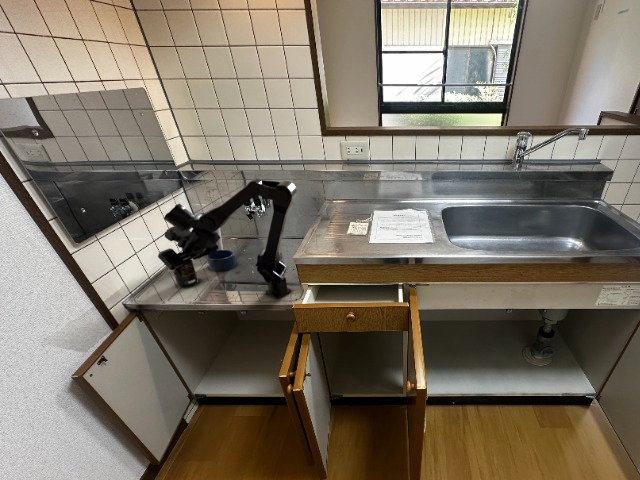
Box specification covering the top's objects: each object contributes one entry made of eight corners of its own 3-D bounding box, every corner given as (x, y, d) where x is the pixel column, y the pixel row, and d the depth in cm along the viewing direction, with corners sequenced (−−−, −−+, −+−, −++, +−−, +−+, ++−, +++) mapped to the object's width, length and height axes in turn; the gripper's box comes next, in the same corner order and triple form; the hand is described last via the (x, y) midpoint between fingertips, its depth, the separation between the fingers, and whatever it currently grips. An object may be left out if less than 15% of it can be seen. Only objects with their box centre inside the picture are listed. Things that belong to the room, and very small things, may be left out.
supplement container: (190, 277, 122) (182, 251, 116) (202, 281, 119) (195, 256, 114) (173, 284, 116) (163, 258, 111) (185, 289, 114) (176, 262, 109)
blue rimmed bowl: (241, 265, 133) (238, 254, 130) (218, 273, 125) (215, 261, 123) (227, 258, 137) (224, 247, 134) (204, 266, 130) (201, 255, 127)
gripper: (203, 212, 111) (187, 237, 120) (152, 228, 96) (137, 255, 104) (227, 238, 113) (209, 260, 122) (180, 257, 98) (164, 281, 106)
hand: (181, 263), depth 113 cm, fingers open, 9 cm apart
